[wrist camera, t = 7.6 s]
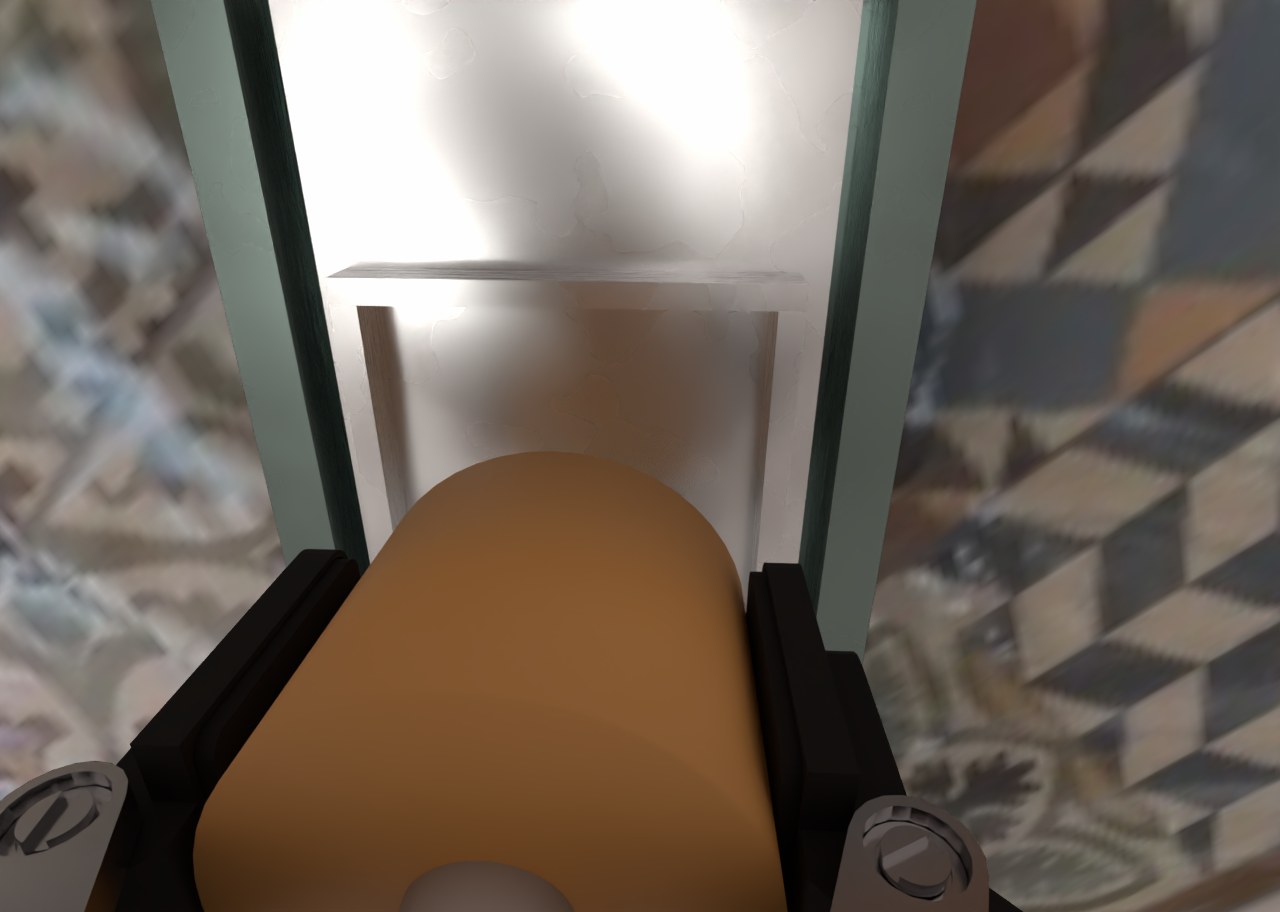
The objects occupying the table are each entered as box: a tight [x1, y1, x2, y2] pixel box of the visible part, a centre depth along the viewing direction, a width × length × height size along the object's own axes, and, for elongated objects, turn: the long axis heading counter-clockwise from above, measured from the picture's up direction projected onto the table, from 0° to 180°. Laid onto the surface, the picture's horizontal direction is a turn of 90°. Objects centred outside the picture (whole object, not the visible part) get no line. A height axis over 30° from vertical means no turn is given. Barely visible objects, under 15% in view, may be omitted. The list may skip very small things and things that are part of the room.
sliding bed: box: [268, 0, 863, 610], centre depth 13 cm, size 15×10×5 cm, turn 0°
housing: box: [193, 451, 787, 912], centre depth 9 cm, size 6×6×6 cm
